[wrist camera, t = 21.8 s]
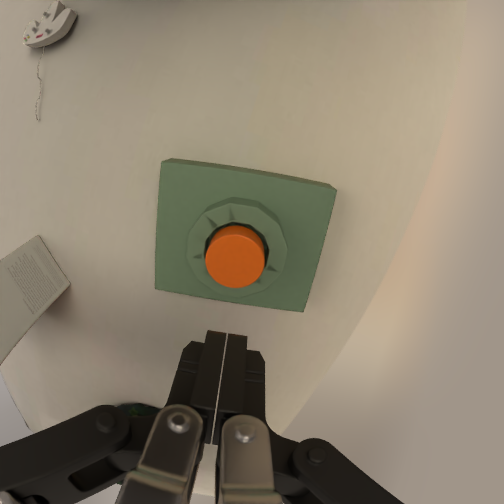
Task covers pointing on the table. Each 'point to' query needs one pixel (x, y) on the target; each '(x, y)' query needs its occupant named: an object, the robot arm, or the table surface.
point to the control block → (240, 214)
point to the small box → (26, 290)
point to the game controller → (49, 28)
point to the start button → (235, 257)
